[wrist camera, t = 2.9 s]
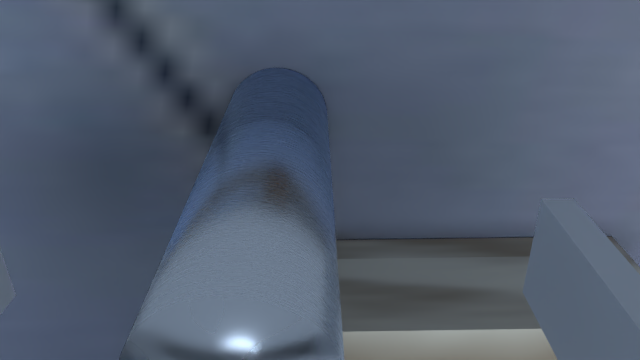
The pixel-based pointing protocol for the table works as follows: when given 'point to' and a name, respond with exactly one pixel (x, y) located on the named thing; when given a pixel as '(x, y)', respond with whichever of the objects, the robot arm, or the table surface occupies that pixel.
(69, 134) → the table surface
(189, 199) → the peg
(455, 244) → the bore block
